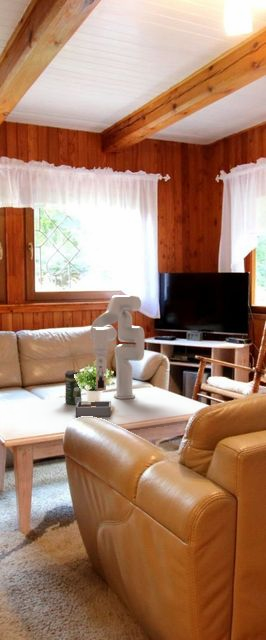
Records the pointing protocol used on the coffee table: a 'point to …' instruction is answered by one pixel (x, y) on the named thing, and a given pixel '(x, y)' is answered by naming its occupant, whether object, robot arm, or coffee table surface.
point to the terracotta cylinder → (97, 384)
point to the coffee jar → (72, 388)
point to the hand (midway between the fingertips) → (101, 386)
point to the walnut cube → (86, 404)
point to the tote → (94, 409)
